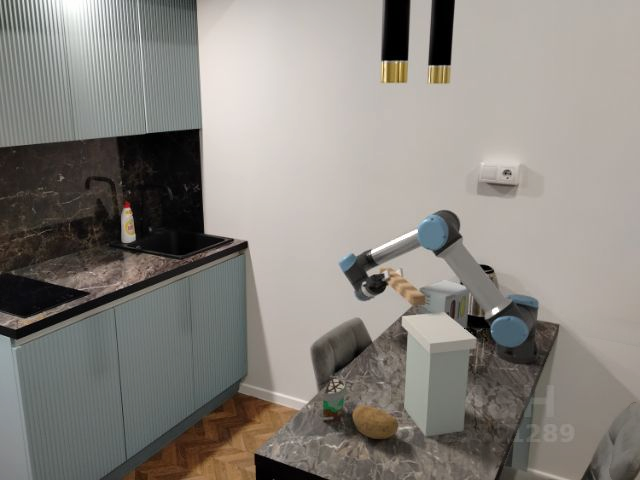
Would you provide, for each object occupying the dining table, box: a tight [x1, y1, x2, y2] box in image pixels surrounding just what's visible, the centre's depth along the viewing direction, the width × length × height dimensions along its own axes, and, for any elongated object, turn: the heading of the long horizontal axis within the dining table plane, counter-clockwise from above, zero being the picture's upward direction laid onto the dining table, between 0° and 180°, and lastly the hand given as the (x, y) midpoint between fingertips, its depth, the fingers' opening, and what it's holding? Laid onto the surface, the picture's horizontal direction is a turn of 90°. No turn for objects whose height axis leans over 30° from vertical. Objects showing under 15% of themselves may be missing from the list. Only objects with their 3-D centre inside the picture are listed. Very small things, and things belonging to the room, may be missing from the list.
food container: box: [322, 375, 348, 423], centre depth 182 cm, size 12×6×10 cm, turn 168°
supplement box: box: [417, 279, 470, 329], centre depth 244 cm, size 17×13×18 cm
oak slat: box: [379, 267, 425, 307], centre depth 199 cm, size 30×4×3 cm, turn 15°
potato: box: [352, 404, 399, 440], centre depth 171 cm, size 10×14×8 cm
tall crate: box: [401, 312, 478, 438], centre depth 177 cm, size 20×14×30 cm
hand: (395, 272), depth 203 cm, fingers closed on oak slat, 4 cm apart
